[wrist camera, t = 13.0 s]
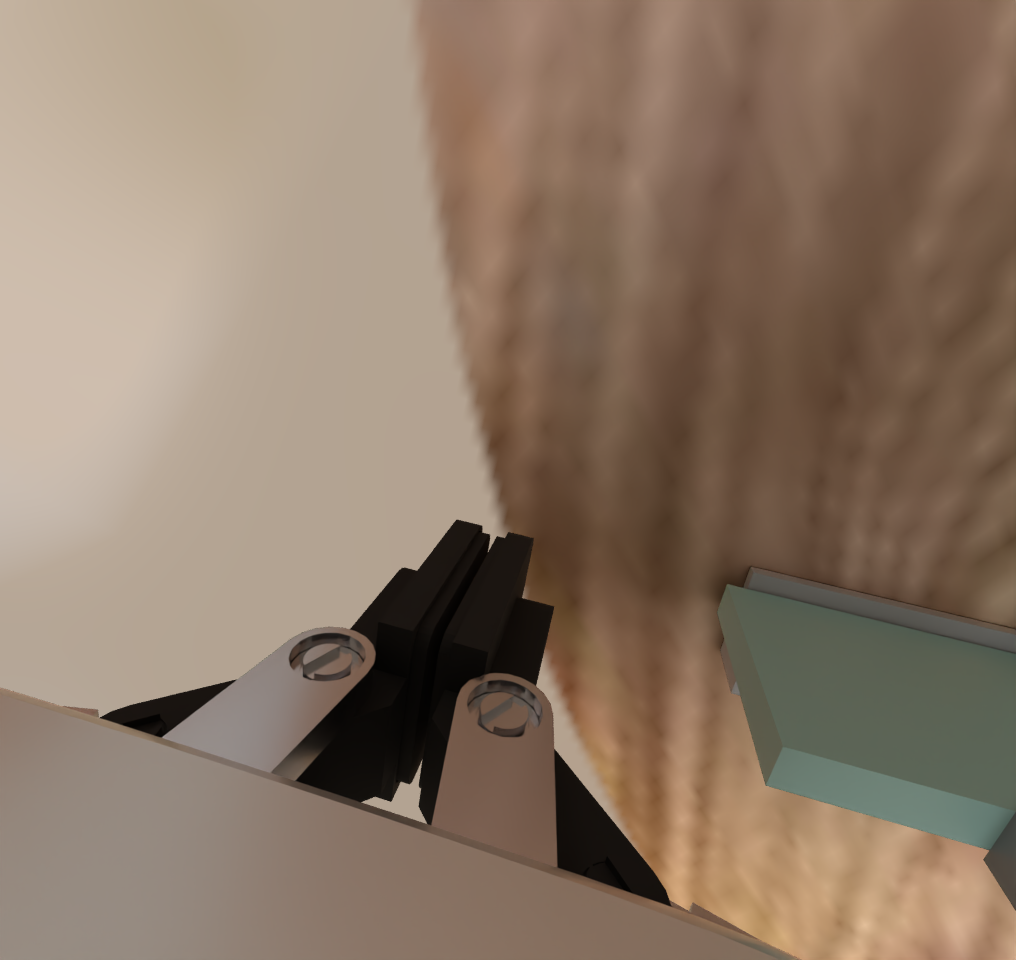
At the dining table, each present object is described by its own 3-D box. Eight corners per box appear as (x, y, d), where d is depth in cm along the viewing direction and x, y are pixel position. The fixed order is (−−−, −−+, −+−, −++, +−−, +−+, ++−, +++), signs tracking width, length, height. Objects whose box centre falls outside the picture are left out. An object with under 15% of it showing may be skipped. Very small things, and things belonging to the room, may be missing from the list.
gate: (1112, 668, 12) (1551, 1007, 6) (1082, 712, 12) (1469, 1066, 7) (729, 576, 13) (808, 793, 7) (714, 619, 13) (777, 855, 8)
